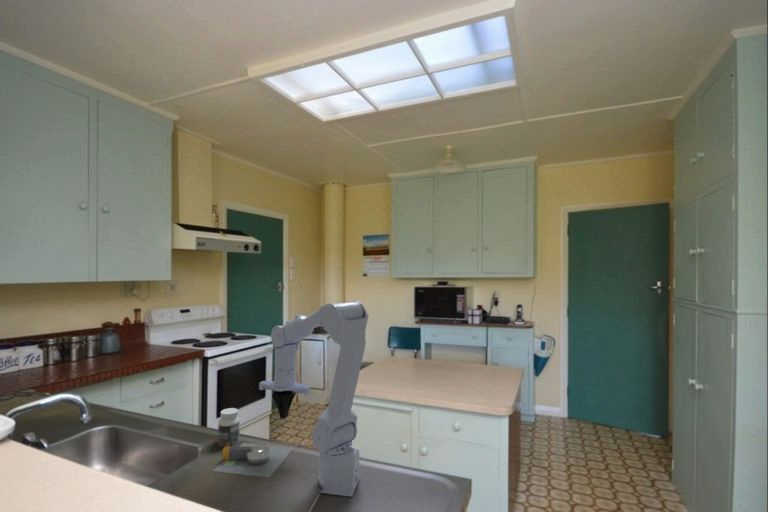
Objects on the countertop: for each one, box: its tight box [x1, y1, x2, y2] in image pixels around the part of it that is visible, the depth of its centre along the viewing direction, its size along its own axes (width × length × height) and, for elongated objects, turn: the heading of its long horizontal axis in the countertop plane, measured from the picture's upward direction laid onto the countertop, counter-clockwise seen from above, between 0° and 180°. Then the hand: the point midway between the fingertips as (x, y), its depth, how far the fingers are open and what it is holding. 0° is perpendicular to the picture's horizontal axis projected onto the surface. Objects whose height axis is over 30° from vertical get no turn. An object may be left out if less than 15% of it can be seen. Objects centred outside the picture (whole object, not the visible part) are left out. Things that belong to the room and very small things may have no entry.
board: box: [212, 442, 294, 479], centre depth 103 cm, size 15×15×1 cm
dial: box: [222, 444, 269, 465], centre depth 102 cm, size 6×12×3 cm, turn 92°
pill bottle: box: [217, 407, 241, 447], centre depth 112 cm, size 6×6×10 cm
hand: (283, 417), depth 108 cm, fingers closed
